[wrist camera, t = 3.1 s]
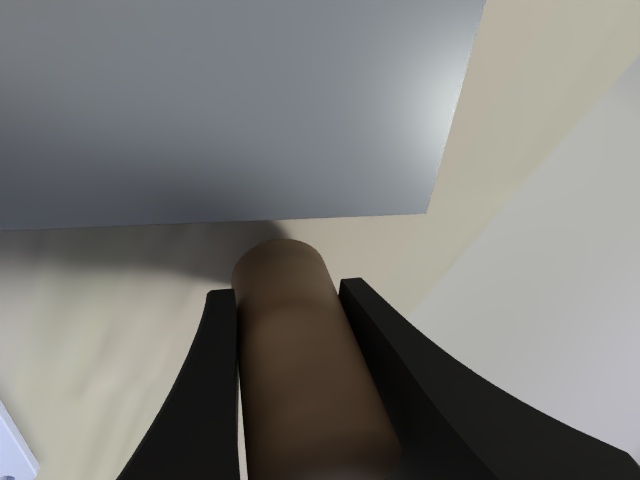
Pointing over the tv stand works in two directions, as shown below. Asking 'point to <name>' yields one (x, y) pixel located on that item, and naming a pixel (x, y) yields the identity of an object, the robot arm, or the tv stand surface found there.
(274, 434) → the peg
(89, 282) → the tv stand surface
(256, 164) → the housing
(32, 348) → the tv stand surface
